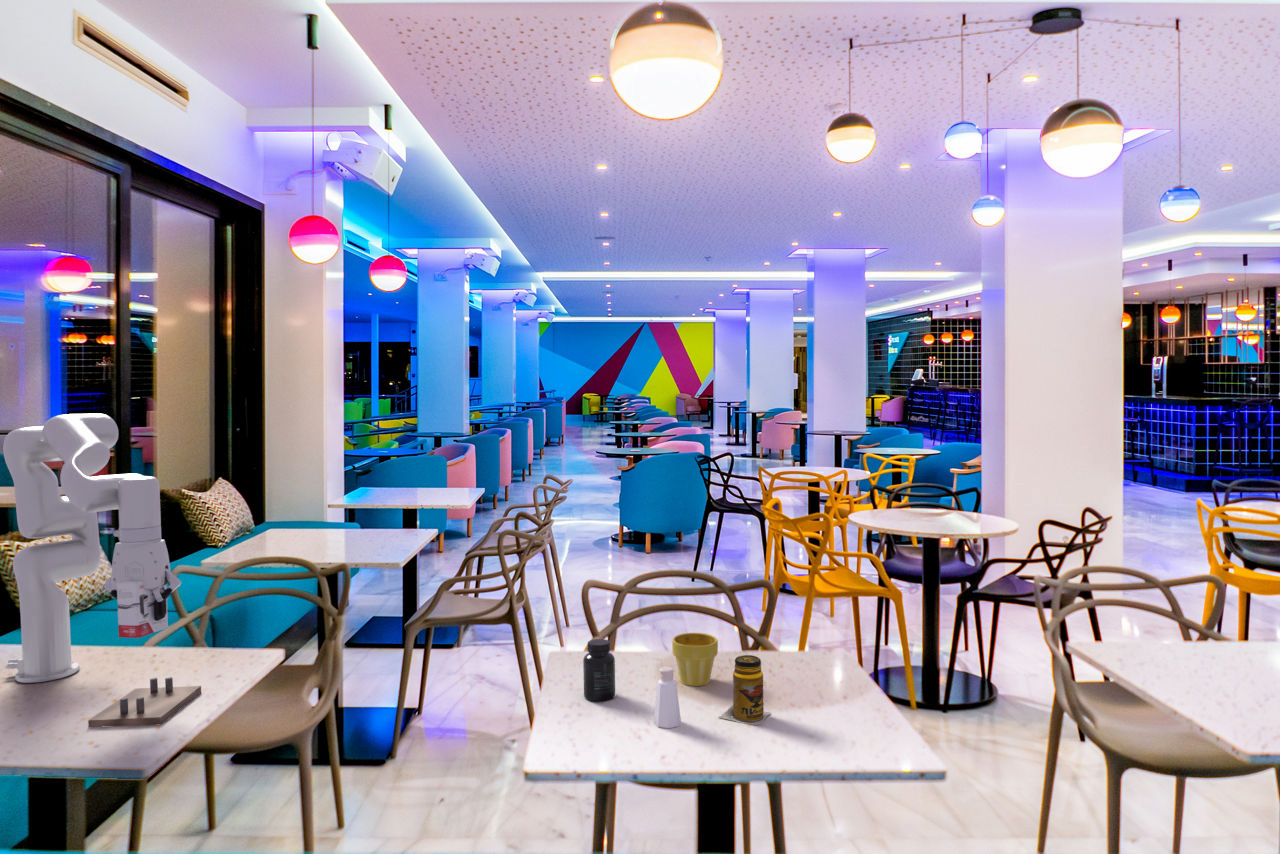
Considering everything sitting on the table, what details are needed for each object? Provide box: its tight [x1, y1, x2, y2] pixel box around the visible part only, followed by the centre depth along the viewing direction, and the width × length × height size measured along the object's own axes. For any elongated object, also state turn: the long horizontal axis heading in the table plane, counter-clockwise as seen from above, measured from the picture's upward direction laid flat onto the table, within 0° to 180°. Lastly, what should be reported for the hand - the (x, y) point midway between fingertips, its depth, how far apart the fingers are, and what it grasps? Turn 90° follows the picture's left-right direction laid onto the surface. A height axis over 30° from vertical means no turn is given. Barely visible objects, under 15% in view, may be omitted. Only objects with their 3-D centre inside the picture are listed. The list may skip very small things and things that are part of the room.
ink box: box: [116, 581, 169, 639], centre depth 174 cm, size 9×5×12 cm, turn 169°
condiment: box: [718, 654, 772, 726], centre depth 167 cm, size 7×8×12 cm
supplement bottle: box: [582, 638, 616, 703], centre depth 178 cm, size 7×7×12 cm
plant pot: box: [671, 632, 719, 687], centre depth 187 cm, size 10×10×10 cm
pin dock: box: [87, 676, 202, 728], centre depth 175 cm, size 14×18×4 cm
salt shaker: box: [653, 666, 682, 729], centre depth 163 cm, size 5×5×11 cm
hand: (143, 618), depth 174 cm, fingers closed on ink box, 5 cm apart
